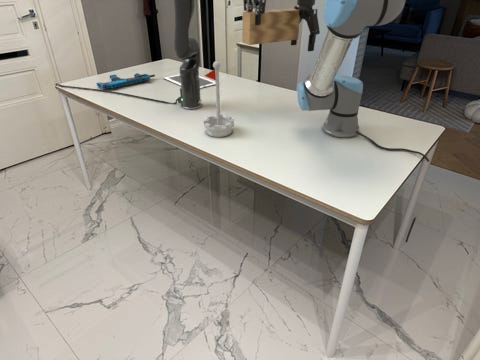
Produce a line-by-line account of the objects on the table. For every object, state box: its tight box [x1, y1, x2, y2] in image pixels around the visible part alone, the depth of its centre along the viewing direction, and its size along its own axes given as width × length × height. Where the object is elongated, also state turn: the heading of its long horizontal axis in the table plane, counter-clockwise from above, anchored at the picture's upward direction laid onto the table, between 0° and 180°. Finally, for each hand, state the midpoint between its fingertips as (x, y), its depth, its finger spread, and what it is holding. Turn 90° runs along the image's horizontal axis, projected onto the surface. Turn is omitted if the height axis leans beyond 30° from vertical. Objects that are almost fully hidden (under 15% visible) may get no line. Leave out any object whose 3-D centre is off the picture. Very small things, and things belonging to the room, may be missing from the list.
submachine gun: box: [95, 72, 156, 90], centre depth 209 cm, size 34×4×25 cm
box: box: [241, 8, 301, 46], centre depth 146 cm, size 26×6×12 cm, turn 120°
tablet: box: [163, 73, 216, 89], centre depth 211 cm, size 32×20×1 cm, turn 41°
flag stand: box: [203, 60, 235, 138], centre depth 141 cm, size 13×13×30 cm
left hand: (253, 23), depth 141 cm, fingers closed on box, 6 cm apart
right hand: (301, 48), depth 153 cm, fingers open, 13 cm apart
